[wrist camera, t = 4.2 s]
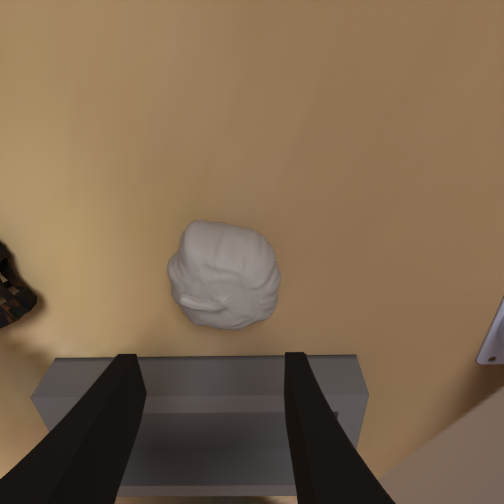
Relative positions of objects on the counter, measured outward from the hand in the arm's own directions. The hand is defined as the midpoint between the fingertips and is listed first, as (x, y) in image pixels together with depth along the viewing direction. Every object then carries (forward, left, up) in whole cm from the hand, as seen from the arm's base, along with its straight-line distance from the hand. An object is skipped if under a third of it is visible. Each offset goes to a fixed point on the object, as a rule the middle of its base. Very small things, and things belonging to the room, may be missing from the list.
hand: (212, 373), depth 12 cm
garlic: (0, 0, -8) cm, 8 cm away
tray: (+2, +14, -8) cm, 16 cm away
